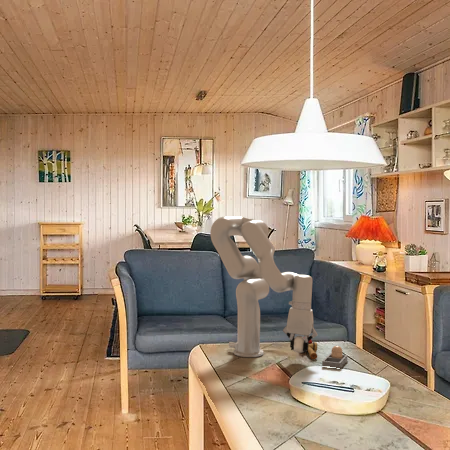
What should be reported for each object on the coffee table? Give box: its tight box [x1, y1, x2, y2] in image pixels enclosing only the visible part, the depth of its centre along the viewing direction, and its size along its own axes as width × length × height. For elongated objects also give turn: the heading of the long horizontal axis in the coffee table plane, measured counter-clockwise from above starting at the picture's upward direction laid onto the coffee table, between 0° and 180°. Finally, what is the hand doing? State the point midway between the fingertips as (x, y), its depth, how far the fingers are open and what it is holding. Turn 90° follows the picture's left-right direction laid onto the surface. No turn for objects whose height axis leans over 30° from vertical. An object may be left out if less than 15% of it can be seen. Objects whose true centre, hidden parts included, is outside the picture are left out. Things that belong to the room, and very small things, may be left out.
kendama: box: [302, 336, 318, 360], centre depth 257 cm, size 8×6×18 cm
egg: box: [292, 335, 305, 354], centre depth 245 cm, size 4×4×6 cm
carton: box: [321, 345, 348, 369], centre depth 242 cm, size 7×13×7 cm, turn 156°
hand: (298, 349), depth 245 cm, fingers closed on egg, 4 cm apart
